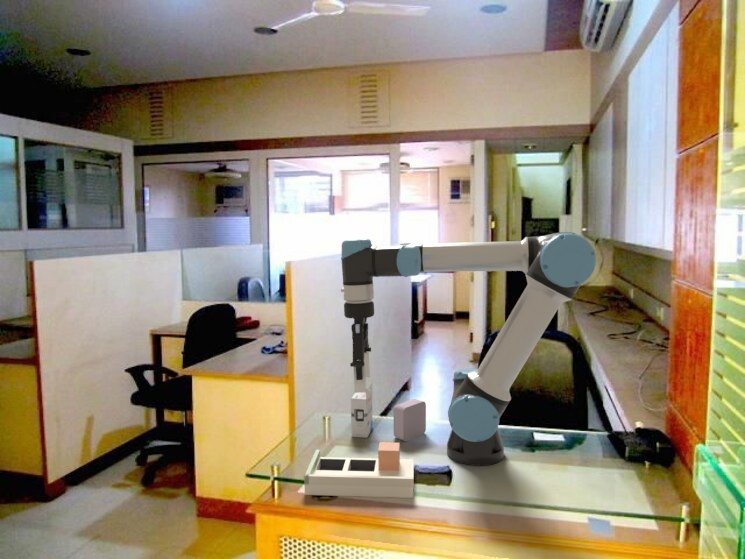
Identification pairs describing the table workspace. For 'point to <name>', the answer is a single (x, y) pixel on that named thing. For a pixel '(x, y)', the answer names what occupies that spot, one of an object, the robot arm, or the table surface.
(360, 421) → the ink box
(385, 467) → the terracotta block
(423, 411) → the electronic device
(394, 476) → the tray
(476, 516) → the table surface
